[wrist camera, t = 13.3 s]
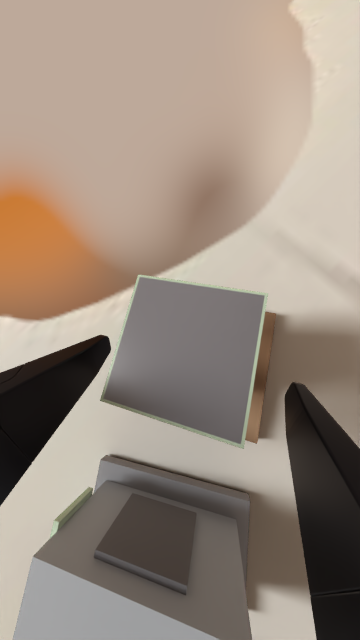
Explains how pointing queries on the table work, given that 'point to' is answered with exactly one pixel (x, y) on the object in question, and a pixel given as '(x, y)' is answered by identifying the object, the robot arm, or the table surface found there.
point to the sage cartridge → (189, 356)
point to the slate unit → (142, 562)
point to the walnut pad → (260, 378)
